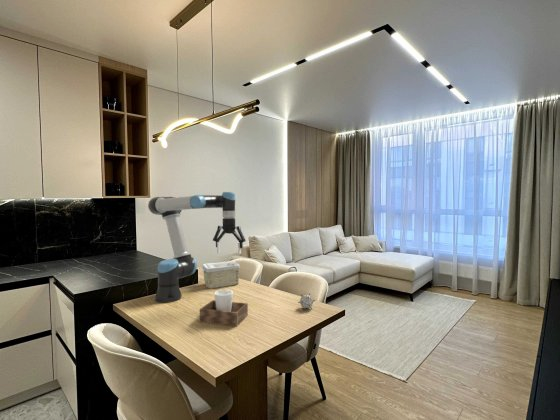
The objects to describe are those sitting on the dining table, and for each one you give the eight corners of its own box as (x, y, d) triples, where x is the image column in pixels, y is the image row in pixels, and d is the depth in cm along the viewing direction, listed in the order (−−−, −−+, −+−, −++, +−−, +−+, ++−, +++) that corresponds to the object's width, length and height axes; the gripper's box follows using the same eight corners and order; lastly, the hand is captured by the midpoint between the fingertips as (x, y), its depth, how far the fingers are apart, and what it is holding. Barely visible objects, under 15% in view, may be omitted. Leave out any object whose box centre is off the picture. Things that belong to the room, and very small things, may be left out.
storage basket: (207, 289, 203) (206, 268, 203) (201, 283, 218) (201, 263, 217) (240, 285, 214) (240, 264, 214) (233, 279, 229) (233, 260, 228)
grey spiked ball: (302, 315, 167) (292, 300, 169) (311, 306, 173) (301, 291, 174) (312, 311, 161) (301, 296, 162) (320, 302, 167) (310, 287, 168)
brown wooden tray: (199, 322, 149) (199, 309, 149) (213, 311, 163) (213, 300, 163) (237, 326, 144) (237, 313, 144) (247, 315, 158) (247, 303, 157)
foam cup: (229, 322, 148) (228, 296, 147) (211, 320, 150) (211, 294, 149) (235, 314, 157) (235, 290, 157) (219, 313, 159) (219, 289, 159)
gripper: (206, 217, 179) (207, 253, 179) (246, 218, 172) (246, 255, 173) (212, 217, 186) (213, 251, 187) (250, 217, 179) (250, 253, 180)
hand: (229, 253), depth 180 cm, fingers open, 13 cm apart
